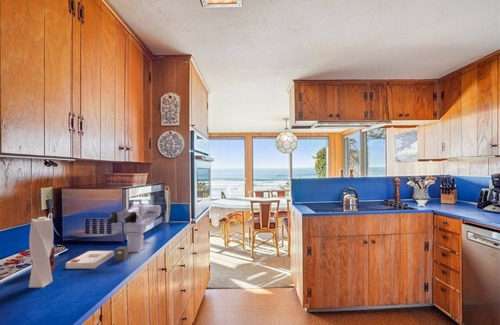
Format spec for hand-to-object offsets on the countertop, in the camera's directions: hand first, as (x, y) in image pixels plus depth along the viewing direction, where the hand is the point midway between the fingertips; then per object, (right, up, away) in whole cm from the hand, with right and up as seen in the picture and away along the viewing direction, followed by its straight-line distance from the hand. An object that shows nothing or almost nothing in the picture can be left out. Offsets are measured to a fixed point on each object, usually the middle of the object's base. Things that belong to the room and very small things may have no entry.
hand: (117, 220), depth 131 cm
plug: (0, -20, +4) cm, 21 cm away
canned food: (-28, -20, -11) cm, 36 cm away
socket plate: (-14, -20, +1) cm, 24 cm away
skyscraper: (-18, -20, -25) cm, 37 cm away
